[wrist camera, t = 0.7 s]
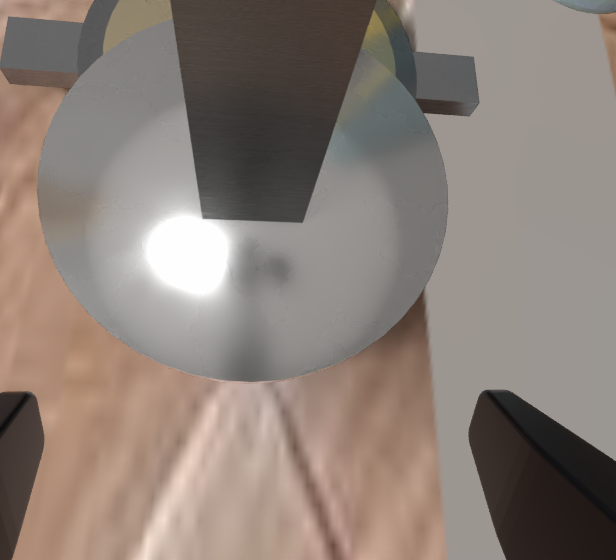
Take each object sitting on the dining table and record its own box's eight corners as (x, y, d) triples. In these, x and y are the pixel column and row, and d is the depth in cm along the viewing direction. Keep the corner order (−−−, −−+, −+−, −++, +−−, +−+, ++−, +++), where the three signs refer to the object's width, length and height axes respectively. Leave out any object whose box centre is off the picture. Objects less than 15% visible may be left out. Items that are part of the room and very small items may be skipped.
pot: (466, 248, 24) (498, 223, 21) (6, 233, 21) (-30, 202, 18) (439, 0, 27) (463, -50, 25) (49, -40, 25) (25, -101, 22)
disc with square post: (457, 382, 18) (742, 323, 8) (17, 384, 16) (-349, 307, 6) (425, 40, 22) (586, -290, 12) (69, 8, 20) (-96, -420, 10)
